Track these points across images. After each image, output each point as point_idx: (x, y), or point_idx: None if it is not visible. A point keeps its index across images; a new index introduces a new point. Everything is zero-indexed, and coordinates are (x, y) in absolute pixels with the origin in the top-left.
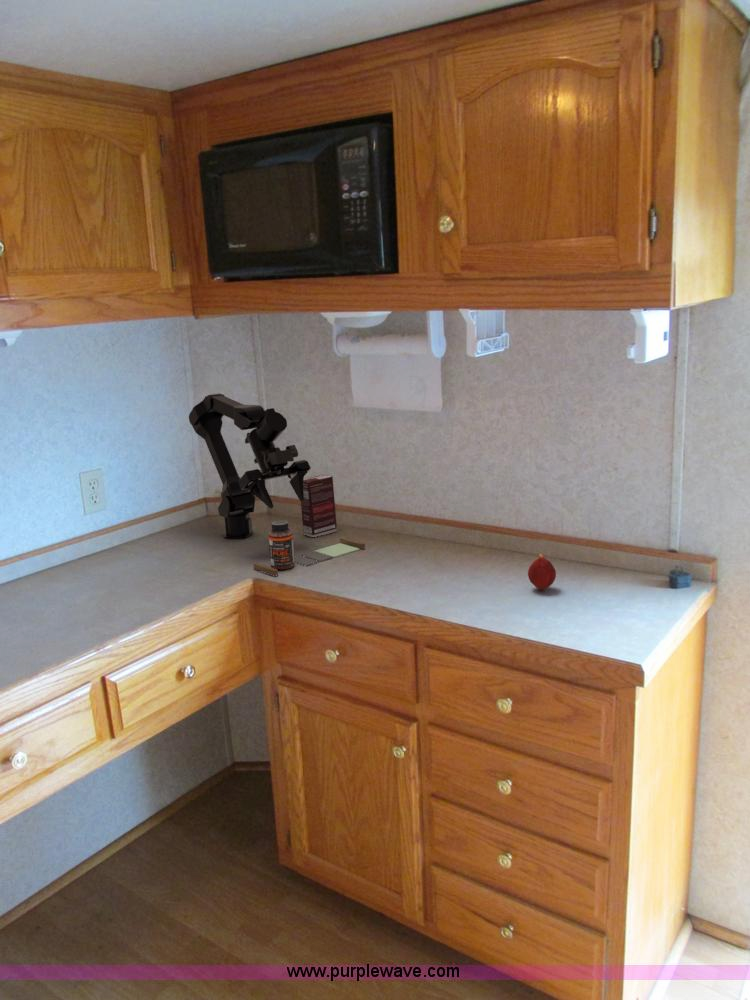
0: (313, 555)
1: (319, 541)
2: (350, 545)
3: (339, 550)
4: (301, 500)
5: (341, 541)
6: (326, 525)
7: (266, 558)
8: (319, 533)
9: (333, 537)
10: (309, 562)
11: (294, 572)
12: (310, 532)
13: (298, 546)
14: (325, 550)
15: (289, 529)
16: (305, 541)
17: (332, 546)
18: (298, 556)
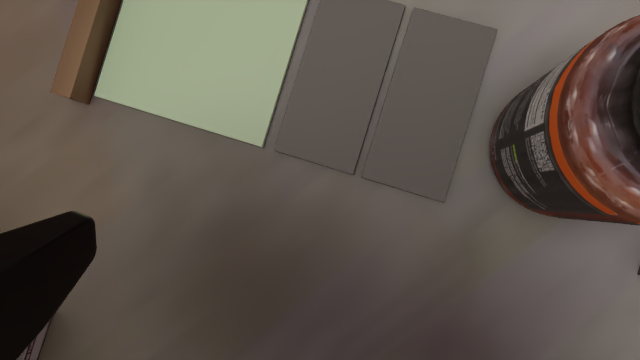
0: (335, 99)
1: None
2: (112, 17)
3: (208, 19)
4: (92, 242)
5: (84, 88)
6: None
7: (465, 335)
8: None
9: (6, 206)
10: (450, 42)
11: (607, 30)
12: None
13: (211, 295)
14: (235, 91)
15: (618, 57)
16: (120, 313)
17: (161, 98)
18: (383, 167)
